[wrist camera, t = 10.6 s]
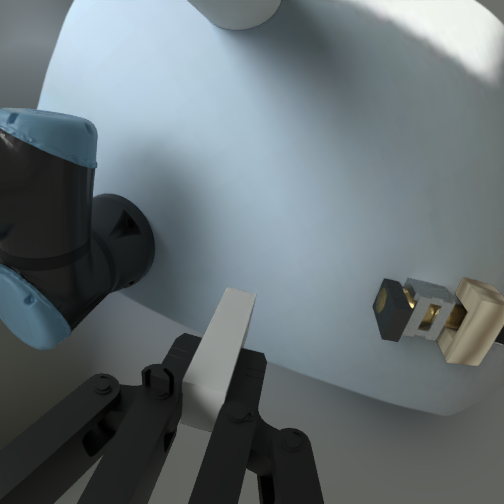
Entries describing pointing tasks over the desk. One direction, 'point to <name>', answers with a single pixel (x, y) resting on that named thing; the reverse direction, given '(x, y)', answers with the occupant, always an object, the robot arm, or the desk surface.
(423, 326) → the sleeve
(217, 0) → the tall pillar cylinder
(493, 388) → the desk surface
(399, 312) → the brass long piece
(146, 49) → the desk surface
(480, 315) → the socket
